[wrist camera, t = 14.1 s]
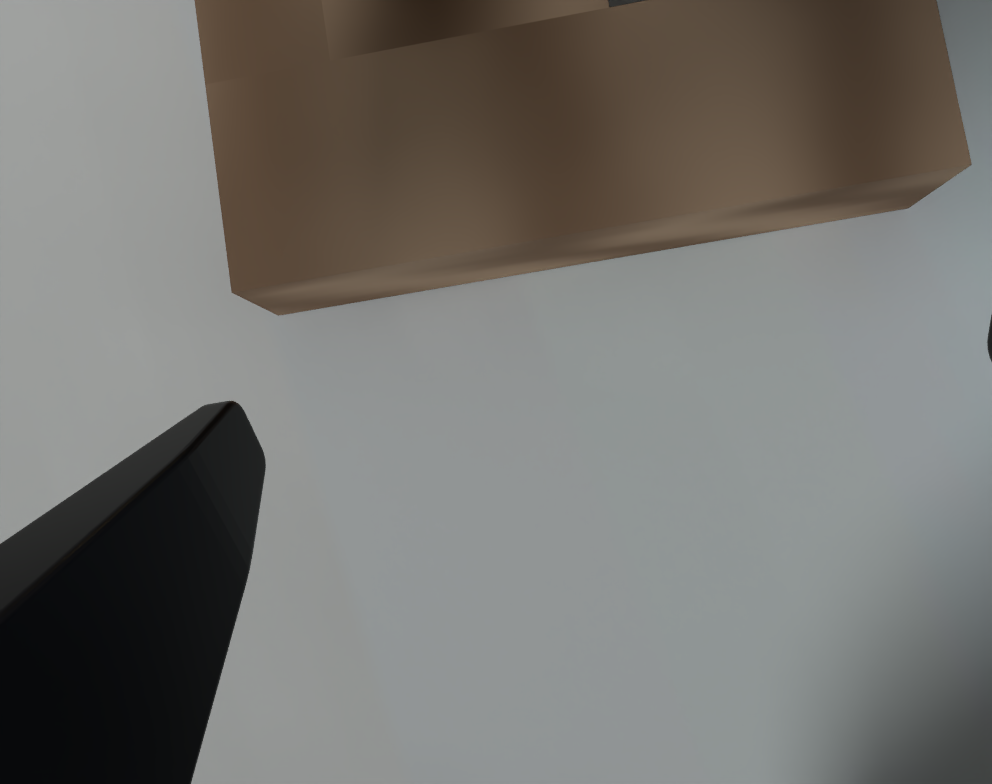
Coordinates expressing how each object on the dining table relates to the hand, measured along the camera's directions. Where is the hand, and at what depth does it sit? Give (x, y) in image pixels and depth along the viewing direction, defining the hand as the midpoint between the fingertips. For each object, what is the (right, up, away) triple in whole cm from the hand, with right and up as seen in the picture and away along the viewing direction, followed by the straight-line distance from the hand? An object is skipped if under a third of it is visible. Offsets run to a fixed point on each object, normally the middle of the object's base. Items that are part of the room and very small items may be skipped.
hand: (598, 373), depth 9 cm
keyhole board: (+1, +11, +12) cm, 16 cm away
